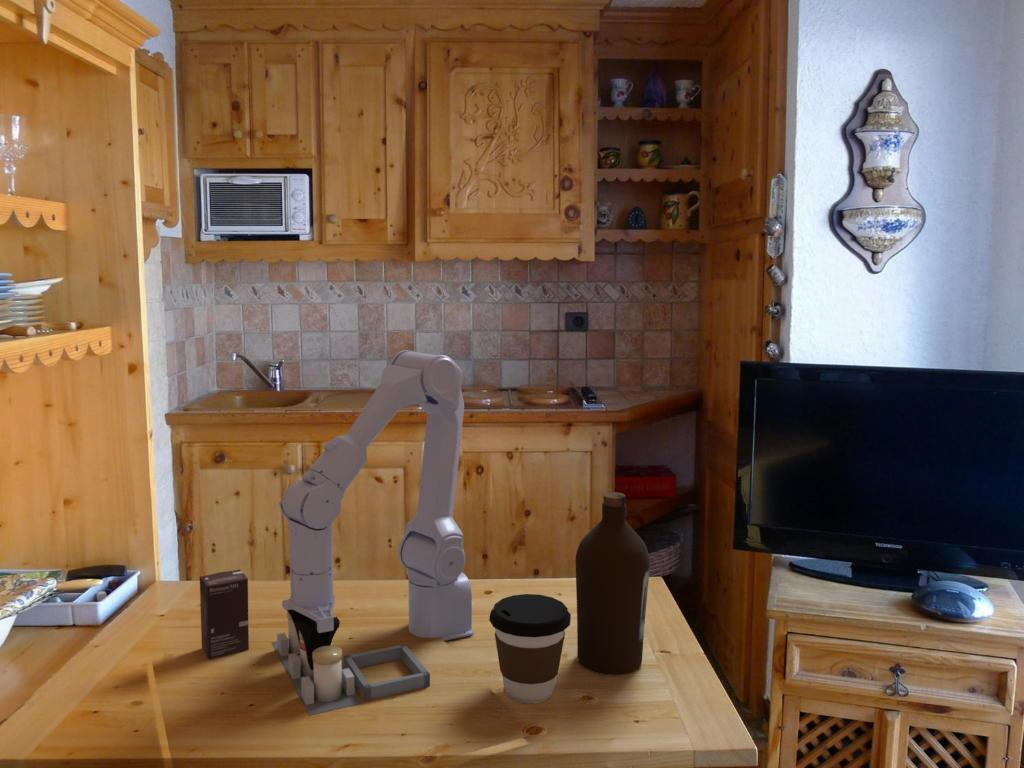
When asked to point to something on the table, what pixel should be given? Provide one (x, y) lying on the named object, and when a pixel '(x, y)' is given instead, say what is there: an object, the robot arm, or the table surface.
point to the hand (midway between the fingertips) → (313, 661)
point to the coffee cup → (529, 644)
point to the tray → (388, 686)
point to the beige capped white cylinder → (292, 636)
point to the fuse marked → (304, 659)
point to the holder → (306, 683)
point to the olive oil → (611, 592)
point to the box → (224, 613)
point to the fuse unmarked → (327, 673)
